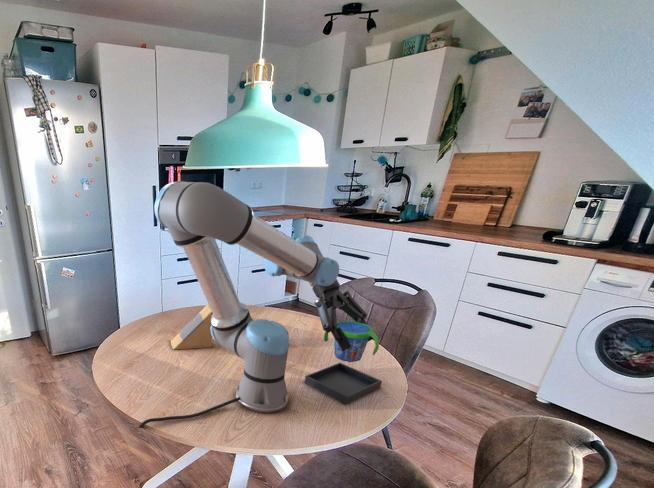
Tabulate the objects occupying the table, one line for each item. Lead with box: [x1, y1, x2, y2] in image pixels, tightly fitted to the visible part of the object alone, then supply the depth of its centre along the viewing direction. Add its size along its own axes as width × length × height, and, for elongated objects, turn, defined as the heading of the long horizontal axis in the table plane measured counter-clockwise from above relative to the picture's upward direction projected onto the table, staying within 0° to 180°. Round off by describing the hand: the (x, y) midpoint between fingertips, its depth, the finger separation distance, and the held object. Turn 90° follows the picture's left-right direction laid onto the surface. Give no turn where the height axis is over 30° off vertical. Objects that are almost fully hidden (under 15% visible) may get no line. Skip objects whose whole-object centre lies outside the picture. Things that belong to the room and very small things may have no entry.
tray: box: [304, 362, 383, 405], centre depth 122 cm, size 17×15×2 cm
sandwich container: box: [170, 303, 213, 350], centre depth 150 cm, size 9×15×15 cm, turn 98°
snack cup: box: [323, 320, 380, 363], centre depth 117 cm, size 16×10×10 cm
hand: (358, 344), depth 114 cm, fingers closed on snack cup, 11 cm apart
